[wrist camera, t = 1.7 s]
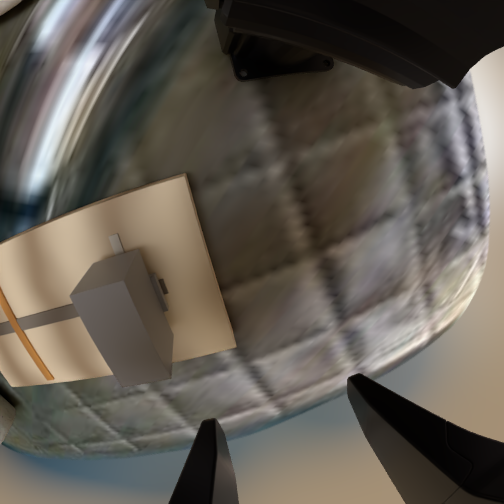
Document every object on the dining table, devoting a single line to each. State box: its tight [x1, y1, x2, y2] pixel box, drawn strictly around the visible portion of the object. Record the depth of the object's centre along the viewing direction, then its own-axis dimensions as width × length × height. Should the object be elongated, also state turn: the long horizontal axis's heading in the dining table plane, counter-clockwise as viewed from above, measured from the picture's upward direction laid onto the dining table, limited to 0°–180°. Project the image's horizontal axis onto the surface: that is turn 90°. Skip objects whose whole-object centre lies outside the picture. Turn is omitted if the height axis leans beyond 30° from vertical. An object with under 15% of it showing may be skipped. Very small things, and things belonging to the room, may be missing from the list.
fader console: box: [0, 173, 236, 387], centre depth 18 cm, size 22×12×2 cm, turn 103°
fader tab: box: [70, 249, 174, 387], centre depth 15 cm, size 4×6×4 cm, turn 13°
